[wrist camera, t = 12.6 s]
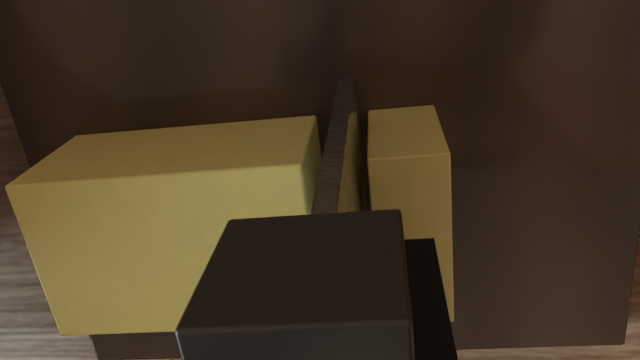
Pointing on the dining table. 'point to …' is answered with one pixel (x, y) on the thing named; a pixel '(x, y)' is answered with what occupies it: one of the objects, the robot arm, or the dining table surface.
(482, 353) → the dining table surface
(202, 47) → the board
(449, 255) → the block
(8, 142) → the dining table surface
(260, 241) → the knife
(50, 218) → the butter block
